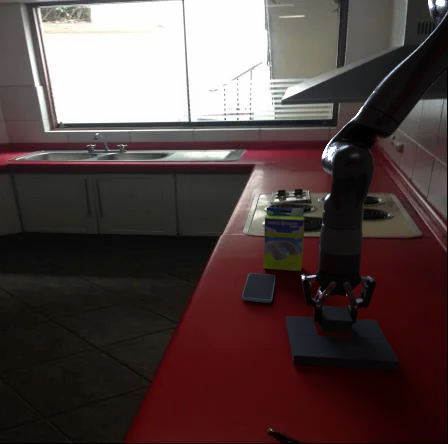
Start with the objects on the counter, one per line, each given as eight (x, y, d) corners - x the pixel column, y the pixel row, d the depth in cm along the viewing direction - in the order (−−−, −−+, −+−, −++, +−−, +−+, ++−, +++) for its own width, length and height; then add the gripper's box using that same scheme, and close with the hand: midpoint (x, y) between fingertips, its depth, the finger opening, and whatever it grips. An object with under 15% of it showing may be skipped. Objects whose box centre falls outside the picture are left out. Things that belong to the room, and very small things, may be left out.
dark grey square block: (344, 319, 88) (346, 306, 87) (351, 334, 83) (352, 320, 82) (317, 318, 89) (318, 305, 88) (322, 332, 84) (323, 319, 83)
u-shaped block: (374, 328, 88) (375, 319, 87) (398, 371, 75) (399, 361, 74) (285, 324, 91) (286, 316, 91) (293, 364, 78) (294, 355, 78)
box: (263, 269, 119) (264, 211, 113) (264, 263, 122) (265, 206, 117) (302, 272, 115) (305, 212, 110) (302, 266, 119) (304, 207, 114)
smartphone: (275, 275, 112) (272, 300, 99) (275, 278, 113) (271, 304, 99) (248, 272, 115) (241, 297, 101) (248, 276, 115) (241, 301, 101)
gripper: (303, 253, 78) (300, 331, 83) (386, 254, 75) (377, 335, 81) (298, 239, 85) (295, 312, 90) (374, 239, 82) (366, 315, 88)
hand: (334, 322), depth 85 cm, fingers closed on dark grey square block, 5 cm apart
